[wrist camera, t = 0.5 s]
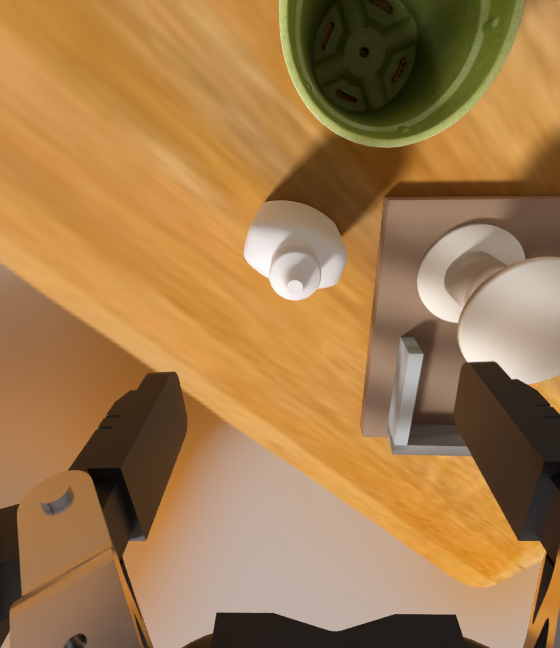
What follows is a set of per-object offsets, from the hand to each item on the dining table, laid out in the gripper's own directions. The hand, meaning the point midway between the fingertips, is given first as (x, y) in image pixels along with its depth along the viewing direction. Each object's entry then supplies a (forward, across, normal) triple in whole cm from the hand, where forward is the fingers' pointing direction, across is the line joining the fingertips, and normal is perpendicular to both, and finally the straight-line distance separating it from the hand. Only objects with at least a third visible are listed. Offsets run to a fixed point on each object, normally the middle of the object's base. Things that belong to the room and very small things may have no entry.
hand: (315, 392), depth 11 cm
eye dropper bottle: (+18, +1, -1) cm, 19 cm away
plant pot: (+18, -4, -11) cm, 22 cm away
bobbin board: (+18, -11, +8) cm, 23 cm away
